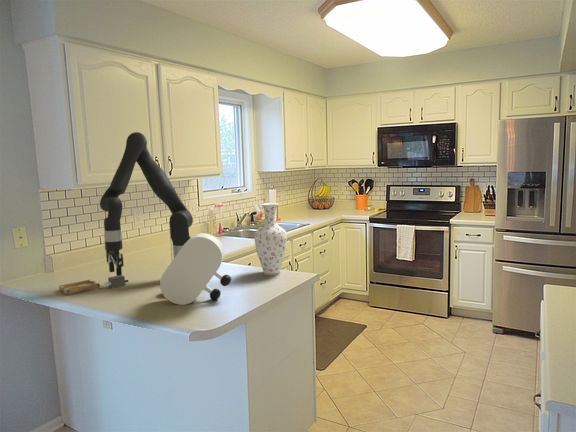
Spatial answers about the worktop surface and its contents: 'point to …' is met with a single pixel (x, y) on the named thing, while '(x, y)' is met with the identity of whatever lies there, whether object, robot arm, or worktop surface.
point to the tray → (79, 287)
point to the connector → (116, 281)
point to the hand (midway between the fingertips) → (115, 273)
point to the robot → (194, 270)
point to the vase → (270, 242)
